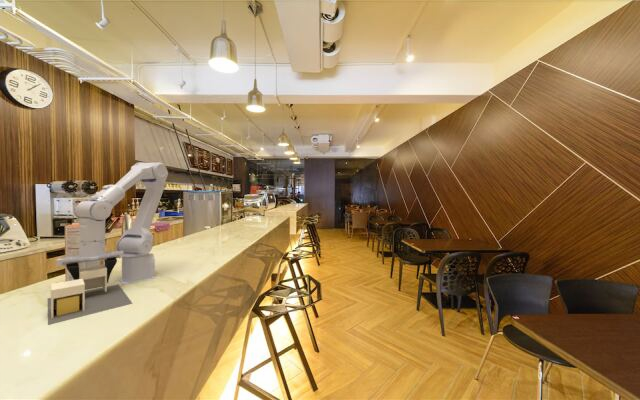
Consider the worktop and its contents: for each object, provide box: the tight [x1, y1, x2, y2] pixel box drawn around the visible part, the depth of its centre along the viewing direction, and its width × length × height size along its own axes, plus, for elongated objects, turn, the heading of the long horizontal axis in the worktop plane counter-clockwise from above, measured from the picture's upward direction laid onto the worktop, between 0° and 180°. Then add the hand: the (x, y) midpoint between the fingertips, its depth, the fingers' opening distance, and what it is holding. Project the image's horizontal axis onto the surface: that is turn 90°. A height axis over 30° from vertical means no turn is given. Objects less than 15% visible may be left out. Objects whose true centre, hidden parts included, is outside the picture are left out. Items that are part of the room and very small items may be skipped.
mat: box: [47, 284, 133, 326], centre depth 70 cm, size 16×20×1 cm
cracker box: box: [64, 222, 105, 282], centre depth 85 cm, size 14×6×21 cm, turn 23°
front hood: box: [50, 279, 86, 319], centre depth 64 cm, size 6×6×7 cm
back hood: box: [79, 264, 108, 292], centre depth 74 cm, size 6×6×7 cm
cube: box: [56, 294, 79, 316], centre depth 64 cm, size 4×4×4 cm
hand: (92, 285), depth 74 cm, fingers closed on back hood, 6 cm apart
